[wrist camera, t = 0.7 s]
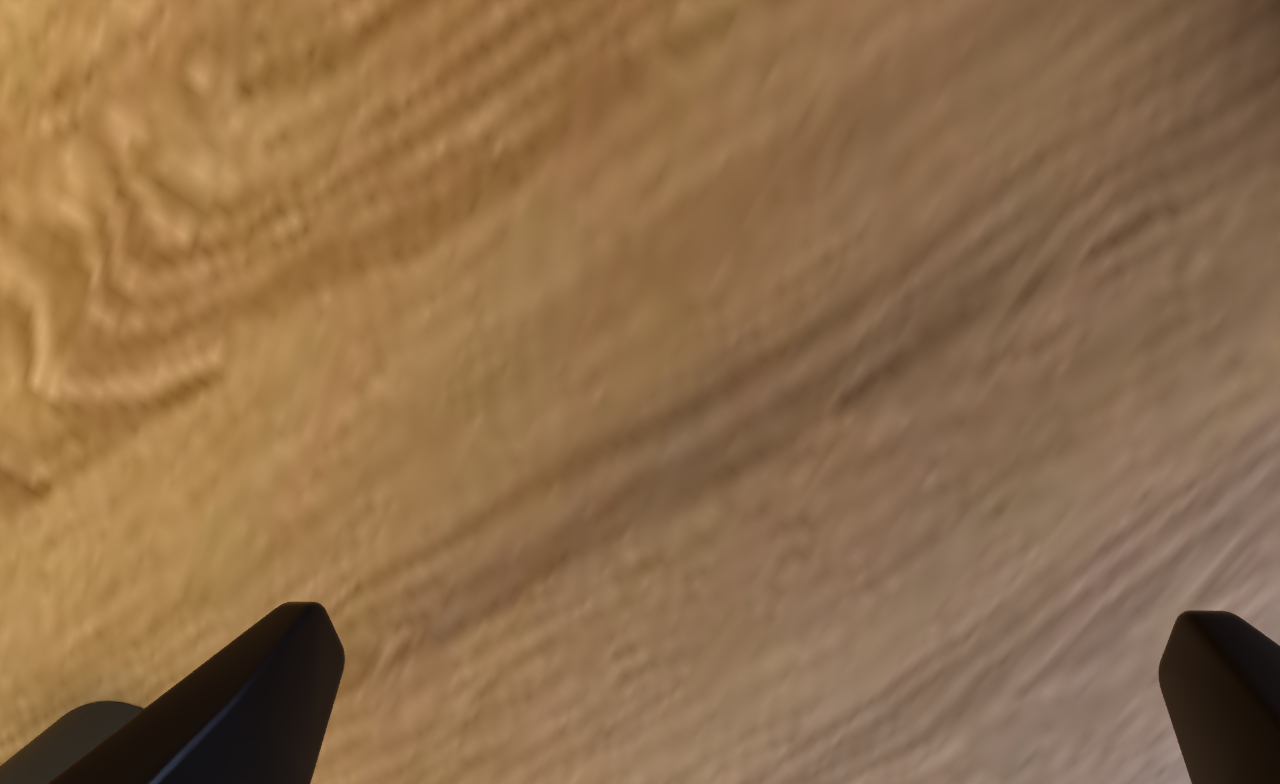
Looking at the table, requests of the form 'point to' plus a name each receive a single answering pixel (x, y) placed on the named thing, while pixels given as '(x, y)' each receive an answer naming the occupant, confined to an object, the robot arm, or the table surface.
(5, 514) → the table surface
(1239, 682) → the robot arm
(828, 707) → the table surface
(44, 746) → the sushi
